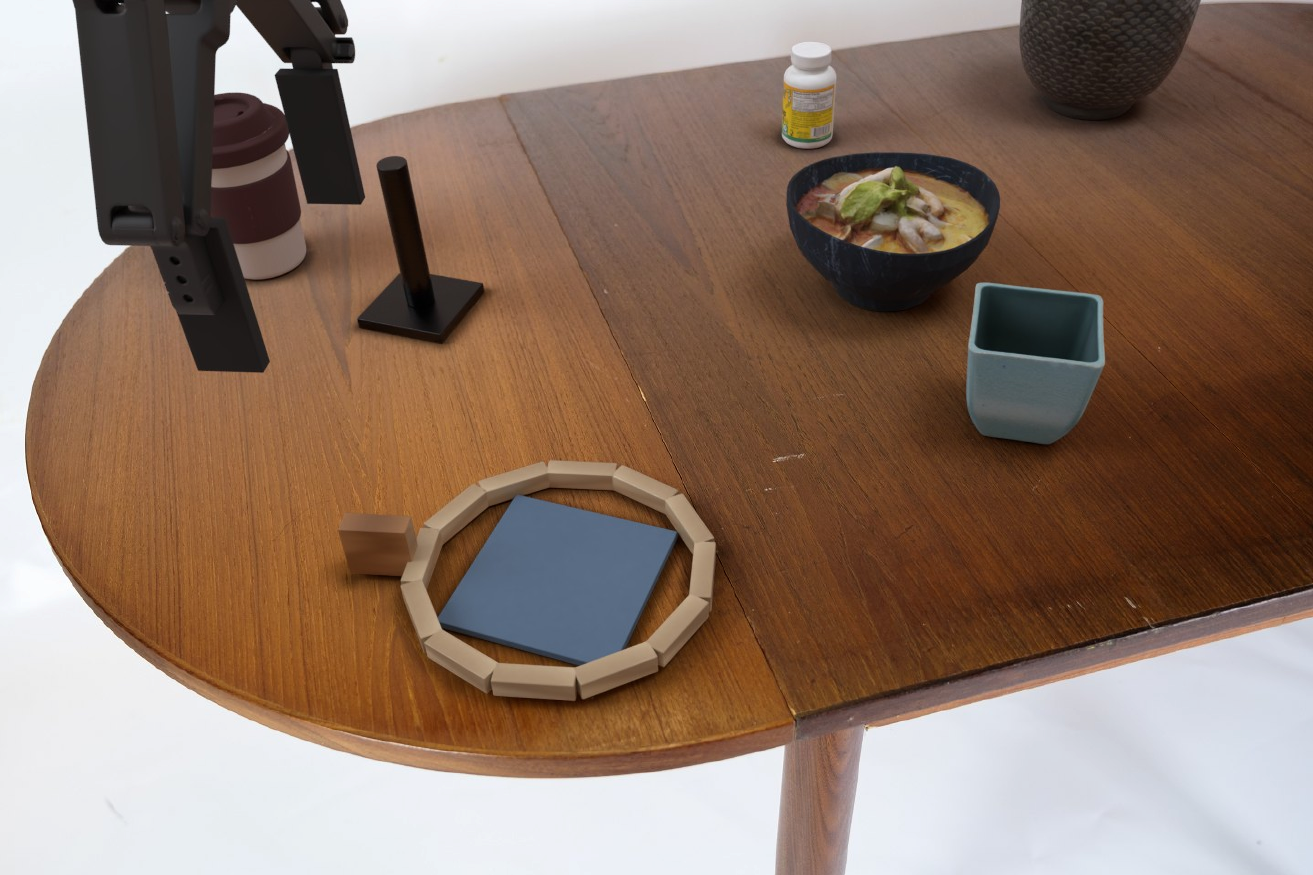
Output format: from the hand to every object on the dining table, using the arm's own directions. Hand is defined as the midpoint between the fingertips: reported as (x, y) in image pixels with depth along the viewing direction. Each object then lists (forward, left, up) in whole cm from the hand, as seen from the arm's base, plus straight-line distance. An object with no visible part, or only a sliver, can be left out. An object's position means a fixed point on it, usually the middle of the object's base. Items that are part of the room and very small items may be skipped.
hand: (290, 275), depth 50 cm
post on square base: (+34, +18, -28) cm, 48 cm away
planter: (+90, -33, -29) cm, 100 cm away
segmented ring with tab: (+9, -4, -28) cm, 30 cm away
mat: (+9, -6, -28) cm, 30 cm away
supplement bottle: (+74, -6, -29) cm, 80 cm away
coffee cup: (+37, +36, -29) cm, 59 cm away
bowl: (+49, -19, -29) cm, 60 cm away
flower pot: (+34, -32, -29) cm, 55 cm away
